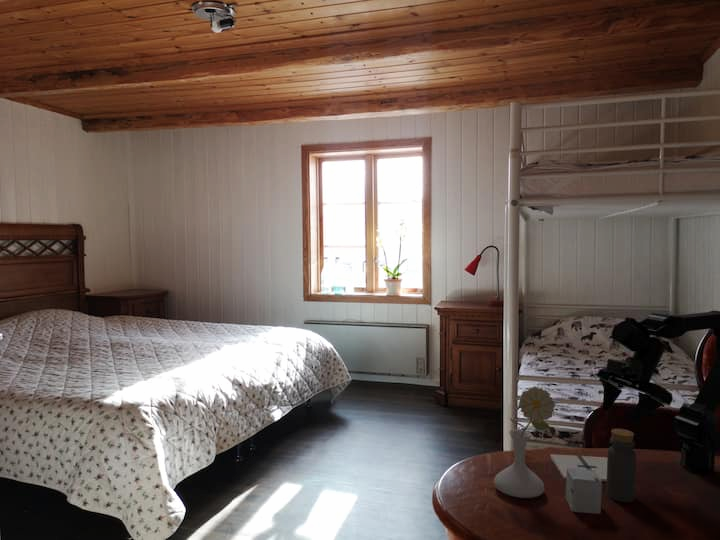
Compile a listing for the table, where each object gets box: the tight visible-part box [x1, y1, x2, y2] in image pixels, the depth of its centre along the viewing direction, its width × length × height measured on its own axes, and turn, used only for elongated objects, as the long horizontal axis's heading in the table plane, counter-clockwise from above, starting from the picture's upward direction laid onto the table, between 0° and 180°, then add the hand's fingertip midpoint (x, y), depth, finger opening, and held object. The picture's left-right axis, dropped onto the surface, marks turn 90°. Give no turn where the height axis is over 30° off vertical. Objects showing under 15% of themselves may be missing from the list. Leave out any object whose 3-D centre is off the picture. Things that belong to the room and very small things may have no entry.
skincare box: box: [565, 468, 603, 515], centre depth 116 cm, size 6×6×7 cm
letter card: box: [549, 454, 608, 483], centre depth 136 cm, size 15×14×1 cm
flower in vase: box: [493, 386, 556, 499], centre depth 122 cm, size 13×11×25 cm
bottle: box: [605, 428, 637, 503], centre depth 121 cm, size 6×6×15 cm
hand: (617, 416), depth 129 cm, fingers open, 9 cm apart
